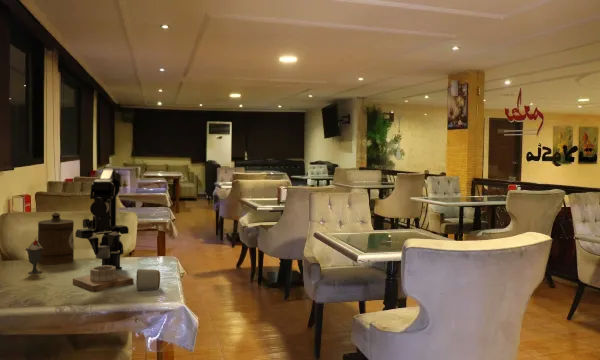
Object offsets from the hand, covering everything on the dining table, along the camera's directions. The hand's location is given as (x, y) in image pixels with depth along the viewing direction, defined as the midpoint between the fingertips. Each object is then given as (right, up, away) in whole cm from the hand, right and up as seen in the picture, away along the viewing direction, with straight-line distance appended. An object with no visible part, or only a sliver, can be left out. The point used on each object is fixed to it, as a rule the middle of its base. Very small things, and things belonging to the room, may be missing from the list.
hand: (102, 254), depth 198 cm
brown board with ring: (0, -11, +1) cm, 11 cm away
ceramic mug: (+18, -12, -5) cm, 23 cm away
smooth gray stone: (0, -1, 0) cm, 1 cm away
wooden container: (-36, -9, +39) cm, 53 cm away
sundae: (-34, -10, +15) cm, 38 cm away
